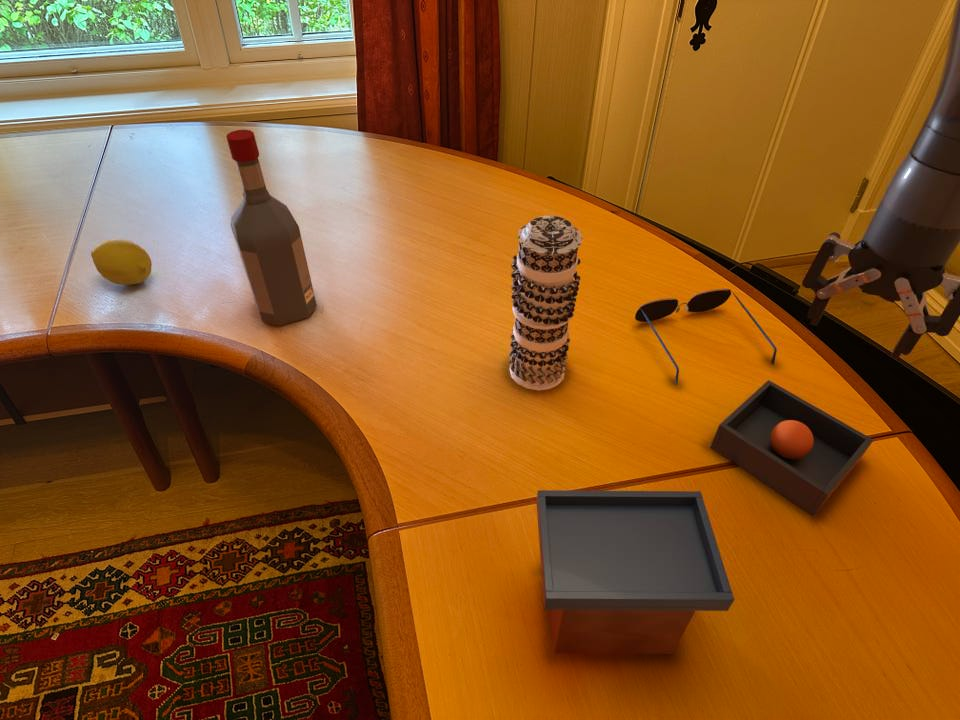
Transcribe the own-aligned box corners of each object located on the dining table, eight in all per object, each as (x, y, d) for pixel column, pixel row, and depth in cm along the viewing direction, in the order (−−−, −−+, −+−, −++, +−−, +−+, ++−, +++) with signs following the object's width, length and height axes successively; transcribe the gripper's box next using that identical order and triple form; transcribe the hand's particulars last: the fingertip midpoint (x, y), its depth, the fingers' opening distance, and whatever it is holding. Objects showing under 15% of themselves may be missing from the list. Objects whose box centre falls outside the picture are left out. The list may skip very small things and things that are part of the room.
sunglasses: (722, 307, 104) (732, 285, 100) (770, 372, 95) (783, 351, 91) (630, 324, 100) (637, 302, 96) (671, 393, 91) (680, 372, 87)
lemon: (169, 278, 109) (153, 240, 104) (131, 300, 104) (112, 261, 99) (130, 261, 113) (113, 223, 108) (92, 282, 109) (72, 243, 103)
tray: (695, 503, 61) (700, 491, 59) (727, 611, 53) (734, 600, 51) (536, 502, 61) (537, 489, 59) (544, 609, 53) (545, 598, 51)
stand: (654, 571, 68) (678, 511, 60) (672, 654, 62) (701, 599, 53) (547, 570, 68) (557, 511, 60) (554, 653, 62) (565, 598, 53)
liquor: (266, 331, 99) (211, 154, 78) (253, 301, 104) (199, 129, 84) (320, 315, 102) (281, 140, 81) (305, 287, 108) (265, 117, 87)
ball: (812, 452, 80) (827, 428, 76) (793, 473, 77) (807, 448, 74) (776, 431, 82) (789, 406, 79) (757, 450, 80) (770, 425, 77)
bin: (858, 462, 79) (874, 439, 76) (813, 516, 73) (828, 494, 70) (758, 402, 87) (768, 379, 84) (709, 446, 81) (719, 424, 78)
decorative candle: (506, 349, 95) (512, 206, 78) (565, 351, 95) (584, 207, 78) (506, 391, 89) (512, 244, 72) (569, 392, 89) (591, 246, 72)
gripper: (836, 197, 57) (779, 328, 69) (1014, 248, 51) (918, 383, 62) (857, 169, 62) (799, 297, 73) (1022, 213, 55) (932, 345, 66)
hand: (854, 336), depth 67 cm, fingers open, 8 cm apart
